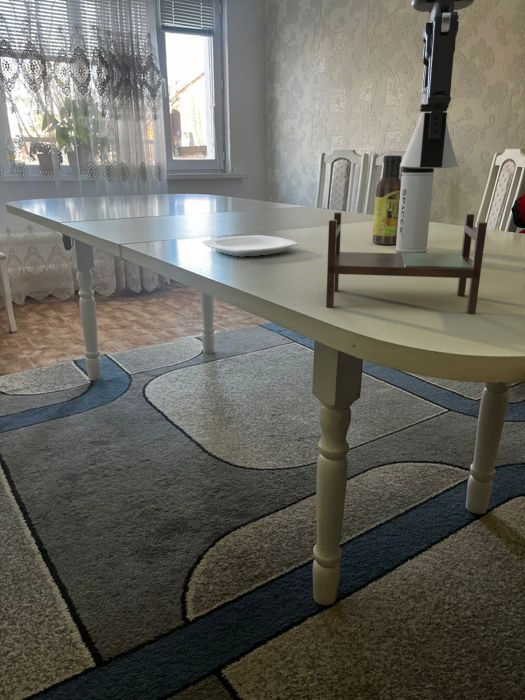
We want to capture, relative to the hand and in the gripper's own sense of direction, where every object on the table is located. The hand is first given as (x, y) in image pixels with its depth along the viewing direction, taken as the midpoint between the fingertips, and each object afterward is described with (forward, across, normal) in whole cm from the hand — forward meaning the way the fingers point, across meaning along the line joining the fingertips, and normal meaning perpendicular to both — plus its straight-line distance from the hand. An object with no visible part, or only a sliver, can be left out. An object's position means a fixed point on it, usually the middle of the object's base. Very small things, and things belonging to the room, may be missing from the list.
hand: (428, 166), depth 74 cm
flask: (0, 0, 0) cm, 0 cm away
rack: (+19, +2, -3) cm, 19 cm away
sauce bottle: (+19, -52, -4) cm, 56 cm away
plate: (+19, -37, -34) cm, 54 cm away
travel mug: (+19, -38, +1) cm, 42 cm away
